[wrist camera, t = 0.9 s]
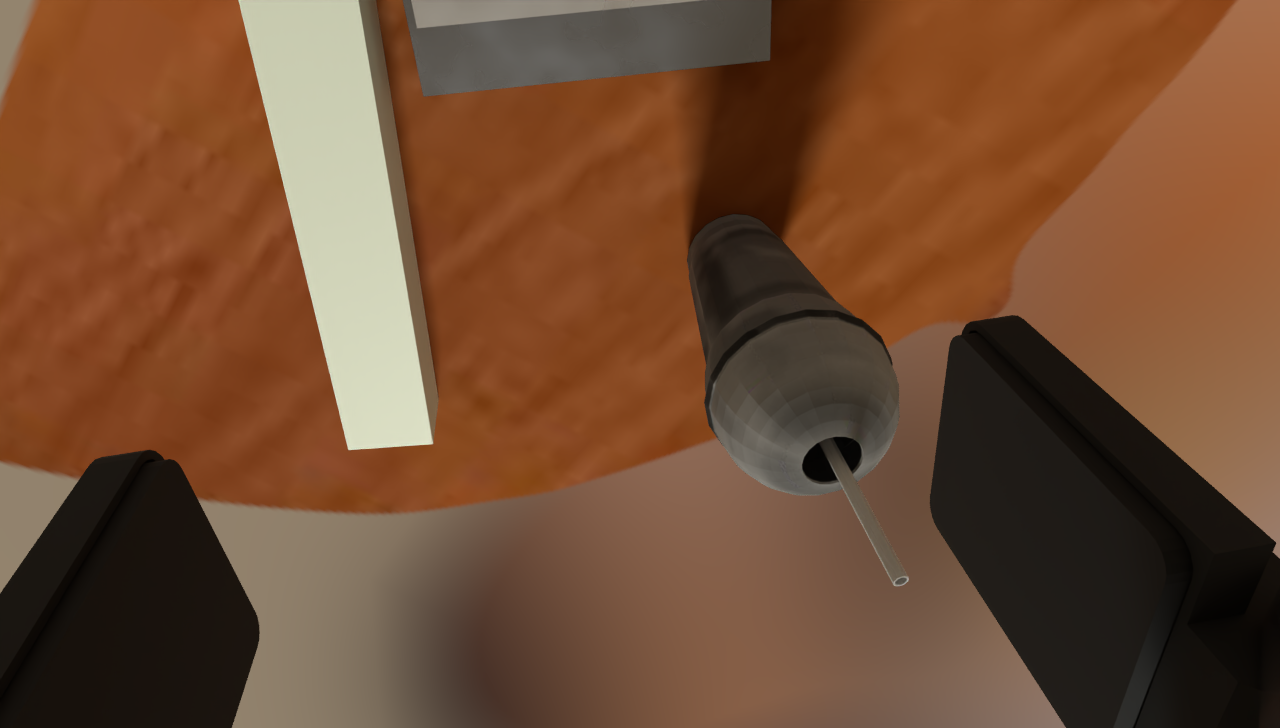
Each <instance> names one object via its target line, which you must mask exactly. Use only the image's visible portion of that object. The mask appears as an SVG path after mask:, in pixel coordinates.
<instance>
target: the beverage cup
mask: <svg viewBox="0 0 1280 728" xmlns="http://www.w3.org/2000/svg"><path fill="white" fill-rule="evenodd" d="M687 262H688V268H689V280H690V285H691V290H692V295H693V300H694V305H695V310H696V315H697V320H698V325H699V331H700V336H701V341H702V346H703V351H704V356H705V361H706V370H705V391H706V397H705V402H704V403H705V408H706V413H707V419H708V424H709V426H710V428H711V429H712V431H713V432H714V434H715V435H716V436H717V438H718V439H719V441H720V442H721V444H722V445H723V446H724V447H725V449H726V450H727V452H728V453H729V455H730V456H731V458H732V459H733V460H734V462H735V463H736V464H737V466H739V468H741V469H742V470H743V471H744V472H745V473H747V474H748V475H750V476H751V477H753V478H755V479H756V480H757V481H759V482H760V483H762V484H764V485H766V486H768V487H769V488H772V489H775V490H779V491H783V492H786V493H790V494H794V495H821V494H825V493H830V492H833V491H838V490H841V489H843V490H844V492H845V494H846V495H847V498H848V499H849V501H850V503H851V505H852V507H853V509H854V511H855V513H856V515H857V517H858V518H859V520H860V522H861V524H862V526H863V528H864V530H865V532H866V534H867V535H868V537H869V539H870V541H871V543H872V545H873V547H874V549H875V551H876V553H877V555H878V556H879V558H880V560H881V562H882V564H883V566H884V568H885V570H886V572H887V574H888V575H889V577H890V579H891V581H892V583H893V585H894V586H901V585H904V584H905V583H906V582H908V581H909V580H908V576H907V574H906V572H905V570H904V568H903V566H902V565H901V563H900V561H899V559H898V557H897V555H896V554H895V552H894V550H893V548H892V546H891V545H890V542H889V541H888V539H887V537H886V535H885V533H884V531H883V530H882V528H881V526H880V524H879V522H878V520H877V519H876V517H875V515H874V513H873V512H872V509H871V508H870V506H869V504H868V502H867V500H866V498H865V496H864V495H863V493H862V491H861V489H860V487H859V485H858V483H857V481H859V480H860V479H861V478H863V477H864V476H865V475H866V474H867V473H869V472H870V471H871V470H873V469H874V468H875V466H876V465H877V464H878V463H879V461H880V460H881V459H882V457H883V456H884V455H885V453H886V452H887V450H888V449H889V447H890V445H891V442H892V439H893V436H894V434H895V431H896V428H897V425H898V421H899V384H898V381H897V377H896V374H895V372H894V370H893V367H892V360H891V357H890V355H889V352H888V350H887V348H886V346H885V344H884V342H883V339H882V337H881V336H880V335H879V334H878V333H877V332H876V331H874V330H873V329H872V328H871V327H870V326H869V325H868V324H866V323H865V322H864V321H863V320H862V319H859V318H856V317H855V316H854V315H853V314H852V313H850V312H849V311H848V310H847V309H845V308H844V307H843V306H841V305H840V304H839V303H838V302H836V301H835V300H834V298H833V297H832V296H831V295H830V294H829V293H828V292H827V291H826V289H825V288H824V287H823V286H822V285H821V284H820V283H819V282H818V280H817V279H816V278H815V277H814V276H813V275H812V274H811V272H810V271H809V270H808V269H807V268H806V267H805V266H804V265H803V263H802V262H801V261H800V260H799V259H798V258H797V257H796V256H795V254H794V253H793V252H792V251H791V250H790V249H789V248H788V247H787V245H786V244H785V243H784V242H783V241H782V240H781V239H780V238H779V237H778V236H777V235H776V234H774V233H773V232H772V231H771V230H770V228H768V227H767V226H766V225H765V224H764V223H763V222H762V221H761V220H759V219H756V218H754V217H751V216H749V215H739V214H732V215H728V216H724V217H720V218H717V219H716V220H714V221H712V222H710V223H709V224H707V225H705V226H704V228H703V229H702V230H701V231H700V232H699V233H698V234H697V235H696V236H695V238H694V240H693V242H692V244H691V246H690V248H689V253H688V259H687Z"/></svg>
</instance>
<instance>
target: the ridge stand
mask: <svg viewBox="0 0 1280 728" xmlns="http://www.w3.org/2000/svg"><path fill="white" fill-rule="evenodd" d="M403 3H404V8H405V13H406V17H407V22H408V27H409V31H410V36H411V40H412V45H413V50H414V54H415V59H416V63H417V68H418V73H419V77H420V82H421V87H422V91H423V96H433V95H443V94H452V93H462V92H471V91H481V90H491V89H500V88H510V87H519V86H529V85H539V84H548V83H558V82H567V81H577V80H587V79H596V78H606V77H615V76H625V75H635V74H644V73H654V72H664V71H673V70H683V69H692V68H702V67H712V66H721V65H731V64H740V63H750V62H760V61H769V60H770V41H771V0H403Z"/></svg>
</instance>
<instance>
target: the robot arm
mask: <svg viewBox="0 0 1280 728" xmlns="http://www.w3.org/2000/svg"><path fill="white" fill-rule="evenodd" d="M930 508H931V513H932V517H933V520H934V523H935V525H936V527H937V528H938V530H939V531H940V533H941V535H942V536H943V538H944V539H945V541H946V542H947V544H948V545H949V547H950V549H951V550H952V552H953V553H954V555H955V556H956V558H957V559H958V561H959V563H960V564H961V566H962V567H963V569H964V570H965V572H966V574H967V575H968V577H969V578H970V579H971V581H972V583H973V584H974V586H975V587H976V589H977V590H978V592H979V594H980V595H981V597H982V598H983V600H984V601H985V603H986V604H987V606H988V608H989V609H990V610H991V612H992V614H993V615H994V617H995V618H996V620H997V622H998V623H999V625H1000V626H1001V627H1002V629H1003V631H1004V632H1005V634H1006V635H1007V637H1008V639H1009V640H1010V642H1011V643H1012V645H1013V646H1014V648H1015V649H1016V651H1017V652H1018V654H1019V656H1020V657H1021V659H1022V660H1023V662H1024V663H1025V665H1026V666H1027V668H1028V670H1029V671H1030V672H1031V674H1032V676H1033V677H1034V679H1035V680H1036V682H1037V683H1038V685H1039V686H1040V688H1041V690H1042V691H1043V693H1044V694H1045V696H1046V697H1047V699H1048V700H1049V702H1050V703H1051V705H1052V707H1053V708H1054V710H1055V711H1056V713H1057V714H1058V716H1059V718H1060V719H1061V721H1062V722H1063V723H1064V725H1065V727H1066V728H1280V559H1279V558H1278V557H1277V556H1276V555H1275V554H1274V553H1273V550H1274V547H1275V545H1276V542H1275V541H1274V540H1273V539H1271V538H1270V537H1269V536H1268V535H1267V534H1266V533H1265V532H1263V531H1262V530H1261V529H1260V528H1259V527H1258V526H1257V525H1256V524H1254V523H1253V522H1252V521H1251V520H1250V519H1249V518H1248V517H1247V516H1245V515H1244V514H1243V513H1242V512H1241V511H1240V510H1238V508H1236V507H1235V506H1234V505H1233V504H1232V503H1231V502H1229V501H1228V500H1227V499H1226V498H1225V497H1224V496H1223V495H1222V494H1221V493H1219V492H1218V491H1217V490H1216V489H1215V488H1214V487H1212V485H1210V484H1209V483H1208V482H1207V481H1206V480H1205V479H1204V478H1202V477H1201V476H1200V475H1199V474H1198V473H1197V472H1196V471H1195V470H1193V469H1192V468H1191V467H1190V466H1189V465H1188V464H1187V463H1186V462H1184V461H1183V460H1182V459H1181V458H1180V457H1179V456H1178V455H1176V454H1175V453H1174V452H1173V451H1172V450H1171V449H1170V448H1169V447H1167V446H1166V445H1165V444H1164V443H1163V442H1162V441H1161V440H1159V439H1158V438H1157V437H1156V436H1155V435H1154V434H1153V433H1152V432H1150V431H1149V430H1148V429H1147V428H1146V427H1145V426H1144V425H1143V424H1141V423H1140V422H1139V421H1138V420H1137V419H1136V418H1135V417H1133V416H1132V415H1131V414H1130V413H1129V412H1128V411H1127V410H1125V409H1124V408H1123V407H1122V406H1121V405H1120V404H1119V403H1118V402H1116V401H1115V400H1114V399H1113V398H1112V397H1111V396H1110V395H1109V394H1108V393H1106V392H1105V391H1104V390H1103V389H1102V388H1101V387H1100V386H1098V385H1097V384H1096V383H1095V382H1094V381H1093V380H1092V379H1091V378H1089V377H1088V376H1087V375H1086V374H1085V373H1084V372H1083V371H1082V370H1080V369H1079V368H1078V367H1077V366H1076V365H1075V364H1074V363H1072V362H1071V361H1070V360H1069V359H1068V358H1067V357H1065V355H1063V354H1062V353H1061V352H1060V351H1059V350H1058V349H1057V348H1056V347H1054V346H1053V345H1052V344H1051V343H1050V342H1049V341H1047V340H1046V339H1045V338H1044V337H1043V336H1042V335H1041V334H1039V333H1038V332H1037V331H1036V330H1035V329H1034V328H1033V327H1032V326H1031V325H1029V324H1028V323H1027V322H1026V321H1025V320H1024V319H1022V318H1021V317H1019V316H1013V315H1011V316H1005V317H999V318H992V319H985V320H979V321H973V322H970V323H968V324H966V326H965V327H964V329H963V331H962V335H958V336H955V337H954V338H953V339H952V341H951V343H950V347H949V354H948V362H947V369H946V378H945V386H944V393H943V401H942V409H941V417H940V424H939V432H938V440H937V448H936V455H935V463H934V471H933V479H932V487H931V494H930ZM258 642H259V623H258V618H257V615H256V612H255V610H254V608H253V607H252V605H251V603H250V601H249V599H248V597H247V595H246V593H245V591H244V589H243V587H242V585H241V583H240V581H239V580H238V577H237V575H236V573H235V572H234V569H233V567H232V566H231V564H230V562H229V560H228V558H227V556H226V554H225V552H224V550H223V548H222V546H221V544H220V543H219V540H218V538H217V536H216V534H215V532H214V531H213V529H212V526H211V525H210V523H209V521H208V519H207V517H206V515H205V513H204V511H203V509H202V507H201V505H200V503H199V501H198V499H197V497H196V495H195V493H194V491H193V489H192V487H191V486H190V484H189V482H188V480H187V478H186V476H185V474H184V472H183V470H182V468H181V467H180V465H179V464H178V463H177V462H176V461H174V460H171V459H168V460H164V459H163V457H162V456H161V455H160V454H159V453H157V452H156V451H152V450H145V451H139V452H132V453H126V454H119V455H113V456H107V457H101V458H98V459H95V460H94V461H93V462H92V463H91V464H90V465H89V466H88V468H87V469H86V471H85V472H84V474H83V475H82V477H81V478H80V479H79V481H78V482H77V484H76V485H75V487H74V488H73V490H72V491H71V492H70V494H69V495H68V497H67V498H66V500H65V501H64V503H63V504H62V505H61V507H60V508H59V510H58V511H57V513H56V514H55V515H54V517H53V519H52V520H51V521H50V523H49V524H48V526H47V527H46V529H45V530H44V531H43V533H42V534H41V536H40V537H39V539H38V540H37V542H36V543H35V544H34V546H33V547H32V549H31V550H30V551H29V553H28V554H27V556H26V558H25V559H24V560H23V562H22V563H21V564H20V566H19V567H18V569H17V570H16V572H15V573H14V575H13V576H12V577H11V579H10V580H9V582H8V583H7V585H6V586H5V588H4V589H3V591H2V592H1V593H0V728H232V725H233V722H234V719H235V716H236V713H237V709H238V706H239V703H240V700H241V697H242V694H243V691H244V688H245V684H246V681H247V678H248V675H249V672H250V668H251V666H252V663H253V659H254V656H255V653H256V650H257V646H258Z"/></svg>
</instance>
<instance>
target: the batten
mask: <svg viewBox="0 0 1280 728" xmlns="http://www.w3.org/2000/svg"><path fill="white" fill-rule="evenodd" d="M239 4H240V8H241V12H242V17H243V21H244V25H245V29H246V33H247V37H248V41H249V45H250V49H251V53H252V57H253V61H254V66H255V70H256V74H257V78H258V82H259V86H260V90H261V94H262V98H263V102H264V106H265V111H266V115H267V119H268V123H269V127H270V131H271V135H272V139H273V143H274V147H275V151H276V156H277V160H278V164H279V168H280V172H281V176H282V180H283V184H284V188H285V192H286V196H287V200H288V205H289V209H290V213H291V217H292V221H293V225H294V229H295V233H296V237H297V241H298V245H299V250H300V254H301V258H302V262H303V266H304V270H305V274H306V278H307V282H308V286H309V290H310V294H311V299H312V303H313V307H314V311H315V315H316V319H317V323H318V327H319V331H320V335H321V339H322V344H323V348H324V352H325V356H326V360H327V364H328V368H329V372H330V376H331V380H332V384H333V389H334V393H335V397H336V401H337V405H338V409H339V413H340V417H341V421H342V425H343V429H344V433H345V438H346V442H347V446H348V450H355V449H370V448H384V447H398V446H412V445H426V444H433V439H434V431H435V423H436V415H437V408H438V400H439V399H438V393H437V386H436V380H435V374H434V367H433V361H432V354H431V348H430V342H429V335H428V329H427V322H426V316H425V310H424V303H423V297H422V291H421V284H420V278H419V271H418V265H417V259H416V252H415V246H414V240H413V233H412V227H411V220H410V214H409V208H408V201H407V195H406V188H405V182H404V176H403V169H402V163H401V157H400V150H399V144H398V137H397V131H396V125H395V118H394V112H393V106H392V99H391V93H390V86H389V80H388V74H387V67H386V61H385V54H384V48H383V42H382V35H381V29H380V23H379V16H378V10H377V3H376V0H239Z"/></svg>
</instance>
